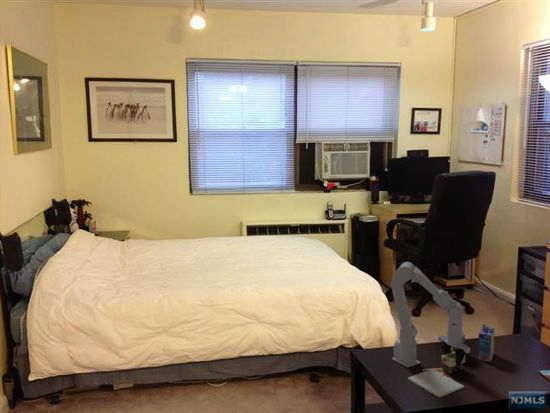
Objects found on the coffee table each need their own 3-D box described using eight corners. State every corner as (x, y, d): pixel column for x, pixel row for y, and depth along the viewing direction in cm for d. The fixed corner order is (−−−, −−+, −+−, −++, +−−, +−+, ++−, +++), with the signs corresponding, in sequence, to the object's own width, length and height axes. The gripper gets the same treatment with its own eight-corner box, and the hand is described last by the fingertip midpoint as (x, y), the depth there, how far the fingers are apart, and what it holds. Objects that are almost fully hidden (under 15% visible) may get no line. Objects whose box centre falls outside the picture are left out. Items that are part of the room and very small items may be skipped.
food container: (467, 361, 207) (468, 339, 205) (452, 359, 208) (453, 338, 207) (461, 348, 219) (462, 328, 217) (447, 347, 220) (448, 327, 219)
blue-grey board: (407, 379, 191) (407, 377, 191) (431, 370, 198) (432, 369, 198) (439, 397, 178) (439, 395, 177) (464, 387, 185) (464, 385, 184)
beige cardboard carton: (440, 370, 199) (441, 355, 198) (454, 365, 203) (455, 350, 202) (450, 375, 194) (450, 360, 193) (464, 369, 199) (465, 355, 198)
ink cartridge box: (480, 350, 217) (482, 320, 215) (493, 353, 214) (495, 323, 212) (477, 359, 208) (478, 328, 206) (490, 362, 205) (492, 330, 203)
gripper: (475, 335, 192) (474, 367, 194) (446, 324, 205) (445, 353, 206) (464, 339, 189) (462, 371, 191) (435, 327, 201) (434, 357, 203)
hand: (453, 362), depth 198 cm, fingers open, 5 cm apart
